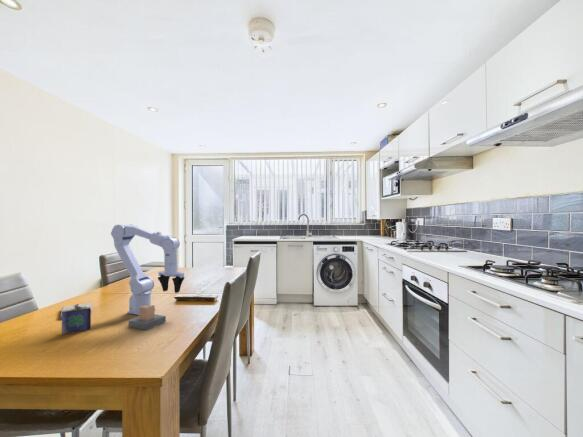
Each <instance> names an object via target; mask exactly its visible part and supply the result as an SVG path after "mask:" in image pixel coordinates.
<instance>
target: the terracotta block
mask: <svg viewBox="0 0 583 437" xmlns="http://www.w3.org/2000/svg"><path fill="white" fill-rule="evenodd" d="M155 307H156V306H155V305H153V304H151V305H145V306H141V307H140V315H139V317H140V319H143V320H148V319H151V318H154V314H155V311H154V309H155ZM155 310H156V309H155Z"/></svg>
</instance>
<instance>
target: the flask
mask: <svg viewBox="0 0 583 437" xmlns="http://www.w3.org/2000/svg"><path fill="white" fill-rule="evenodd" d="M79 304H80V303H77V304H74V305H75V306H74V308H75V309H70V310H64V311H62V320H61V335H68V334H75V333H81V332H86V331H90V330H91V328H92V327H91V326H92V319H91V318H92V313H91V311H92V310H91V308H90V307H84V308H82V307H80V306H78V305H79Z"/></svg>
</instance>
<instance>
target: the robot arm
mask: <svg viewBox="0 0 583 437" xmlns="http://www.w3.org/2000/svg"><path fill="white" fill-rule="evenodd" d="M110 236H111V237H112V239H113V245H114V248H115V250H116V252H117V253H118V254H117V255H118V256H119V258H120V260H121V261H122V263H123V265H124V267H125V269H126V270H127V271H126V272H128V274H129V277H130V279H129V281H128V285H129V286H130V292H131V293H132V294H131V295H130V297H129V303H128V304H129V305H128V306H129V308H128V311H127V314H132V315H137V316H140V307H141V306H145V305H152V290H153V289H154V287H155V281H154V279H152V278H151V277H150V276H149V274H147V273H145V272H143V269H142V268H141V266H140V264H139V262H138V260H137V258H136V257H135V255H134V253H133V250H132V249H131V247H130V246H129V245H130V243H131V242H132V240H133V238H135V236H138V237H141V238H144V239H146V240H149V242H150V243H151V244H153V245H155V246H158V247H160V248H161V249H162V250H163V253H164V254H163V256H164V259H163V260H164V261H163V262H164V268H163V269H164V271H158V277H157V280H158V282H159V283H160V285H161V288H162V292H168V291H169V282H170V279H171V278H170V277H173V278H172V281H173V287H174V293H175V294H177V293H179V292H180V291H181V287H182V285H183V282H184V280H185V272H181V271H178V249H179V248H180V245H181V244H180V240H179V239H178V238H176V237H170V235H164V234H162V232H161V231H155V232H150V231H148V230H147V229H144V228H142V227H139V226H138V225H134V224H115V225H114V226H113V228H112V229H111V232H110ZM155 311H156V309H154V312H155Z"/></svg>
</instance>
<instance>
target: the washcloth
mask: <svg viewBox="0 0 583 437" xmlns="http://www.w3.org/2000/svg"><path fill="white" fill-rule="evenodd" d="M78 304H79V305H78V306H80V307H82V308H84V307H90V308H91V314H92V311H93V306H92V303H91V302H83V303H78ZM75 305H76V304H73V305H66V306H62V307H61V309H60V316H59V317H60V320H61V321H62V311H64V310H70V309H75V308H74V306H75Z"/></svg>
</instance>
